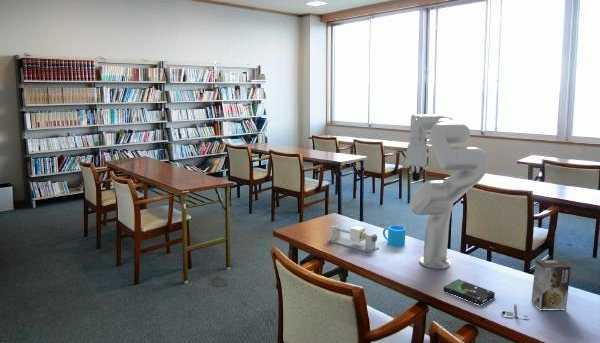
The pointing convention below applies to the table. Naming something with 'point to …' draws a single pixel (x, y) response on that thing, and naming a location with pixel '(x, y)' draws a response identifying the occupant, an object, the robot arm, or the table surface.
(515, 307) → the strap clip
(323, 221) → the table surface
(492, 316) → the table surface
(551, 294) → the coffee box
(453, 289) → the disk drive
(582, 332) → the table surface
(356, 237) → the sleeve
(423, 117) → the robot arm
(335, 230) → the cord rig
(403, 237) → the mug
